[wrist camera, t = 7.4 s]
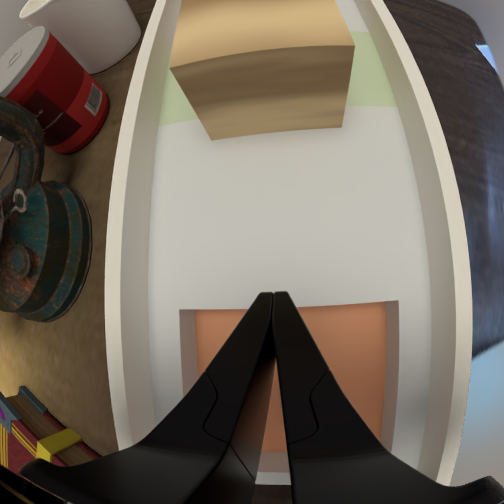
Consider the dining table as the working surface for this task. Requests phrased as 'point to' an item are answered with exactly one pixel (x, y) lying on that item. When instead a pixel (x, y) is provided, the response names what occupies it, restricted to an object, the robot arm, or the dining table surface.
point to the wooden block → (263, 64)
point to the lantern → (38, 228)
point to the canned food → (53, 90)
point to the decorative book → (36, 435)
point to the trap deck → (294, 249)
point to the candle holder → (87, 28)
